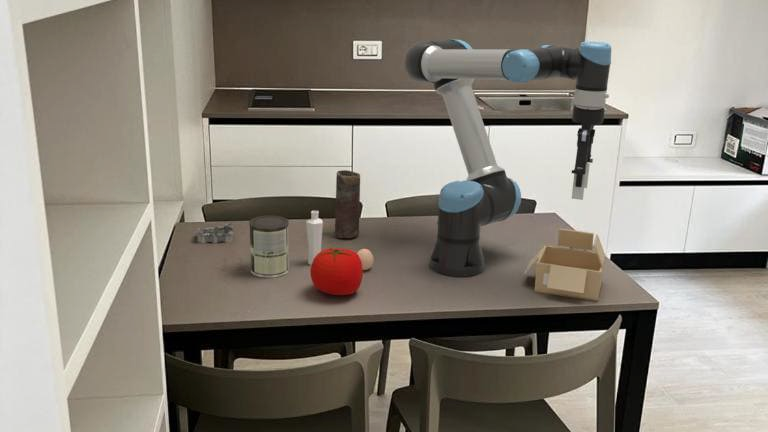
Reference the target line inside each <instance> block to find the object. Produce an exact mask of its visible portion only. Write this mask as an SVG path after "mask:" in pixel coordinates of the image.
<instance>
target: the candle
mask: <svg viewBox="0 0 768 432" xmlns="http://www.w3.org/2000/svg"><path fill="white" fill-rule="evenodd" d="M335 183H336V184H335V185H336V186H335V188H336V190H335V191H336V192H335V214H334V215H335V217H334V218H335V219H334V221H335V222H334V229H335V230H334V237H336V238H338V239H341V238H342V239H352V238H355V237H357V236H358V235H359V234H360V212H361V211H360V208H361V207H360V206H361V205H360V204H361V202H360V201H361V200H360V199H361V174H360V173H358V172H355V171H351V170H348V169H345V170H344V169H343V170H338V171H337V172H336V182H335Z"/></svg>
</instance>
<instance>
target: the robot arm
mask: <svg viewBox="0 0 768 432" xmlns="http://www.w3.org/2000/svg"><path fill="white" fill-rule="evenodd" d="M611 64H612V46H611V45H610V44H609V43H608V42H604V41H589V40H588V41H582V42H581V43H580V45H579V48H575V47H574V48H573V47H566V46H561V45H557V44H554V45H553V44H551V45H550V44H549V45H548V44H545V45H542V46H540V48H528V49H527V48H525V49H523V48H521V49H518V48H516V49H515V48H514V49H510V48H509V49H501V48H500V49H499V48H498V49H496V48H493V49H492V48H491V49H487V48H486V49H485V48H484V49H482V48H481V49H476V48H475V49H474V48H473V47H472V46H471V45H470V44H468V42H466V41H464V40H462V39H454V38H447V39H441V40H428V41H427V40H424V41H419V42H416V43H415V44H413V45H411V46H410V47H409V48H407V51H406V53H405V54H404V58H403V68H404V70H405V73H406V75H407V76H408V77H409V79H411V80H412V81H414V82H415V83H420V84H432V85H433V89H434V90H435V93H436V94H438V95H440V96H442V98H443V101H444V104H445V107H446V110H447V114H448V116H449V120H450V123H451V126H452V128H453V132H454V135H455V137H456V141H457V144H458V147H459V150H460V153H461V156H462V159H463V163H464V166H465V168H466V171H467V175H468V176H467V177H466V180H462V181H460V180H456V181H451V182H448V183H447V184H444V185H443V186H442V187H441V190H440V191H439V198H438V201H437V204H438V211H437V234H436V240H435V244H434V245H433V249H432V251H431V253H430V256H429V265H428V266H429V268H430V270H432V271H435V272H436V273H439V274H442V275H445V276H451V277H471V276H476V275H478V274H480V273H482V272H483V271H484V269H485V259H484V255H483V250H482V246H481V244H480V236H481V227H483V226H487V225H491V224H494V223H497V222H503V221H505V220H507V219H509V218H511V217H513V216H514V215H515V214H516V213H517V212H518V211H519V207H520V206H521V204H522V203H521V202H522V192H521V189H520V187H519V184H518V182H516V181H514V180H513V179H512V178H510V177H508V176H507V173H506V171H505V169H504V168H503V167H501V166H499V165H498V163H497V160H496V157H495V154H494V150H493V148H492V145H491V143H490V142H491V141H490V139H489V136H488V133H487V130H486V127H485V124H484V121H483V118H482V115H481V112H480V109H479V106H478V103H477V99H476V96H475V93H474V91H473V86H472V85H473V83H474V81H475V80H485V81H487V80H488V81H489V80H491V81H492V80H493V81H495V80H496V81H510V82H512V83H528V82H531V81H537V80H547V79H548V80H549V79H555V78H561V79H569V80H570V79H571V80H575V88H574V96H573V97H574V99H573V104H574V105H575V106H573V108H572V118H571V121H572V122H573V123H576V124H580V125H581V126H580V127H579V128H578V130H577V134H576V135H577V140H576V147H577V148H576V157H575V163H574V164H575V165H574V169H572V170H571V174H573V180H572V181H573V183H572V189H571V190H572V191H571V199H572V200H573V199H574V200H582V201H583V200H584V193H585V189H587V188H588V181H589V173H590V165H591V164H592V163H594V161H593V160H594V158H591V157H592V146H593V143H594V138H595V135H596V129H594V127H595V126H597V125H602V124H603V122H604V120H605V119H604V118H605V108H604V107H605V106H606V100H607V99H608V98H609V97H610V95H609V94H608V93H607V91H608V83H609V78H610V77H609V75H610V69H611Z"/></svg>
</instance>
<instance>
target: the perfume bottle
mask: <svg viewBox="0 0 768 432" xmlns="http://www.w3.org/2000/svg"><path fill="white" fill-rule="evenodd" d="M310 213H311V215H310V216H311V218H310V219H308V220H306V222H305V224H306V235H307V237H306V238H307V247H308V248H307V249H308V261H307V264H308V265H310V266H311V265H312V262H313V260H314V258H315V257H316V255H317V254H318V253H320V252H321V251H322V236H323V228H324V227H323V226H324V221H323V220H322V219H321V218H319V210H312V211H310Z"/></svg>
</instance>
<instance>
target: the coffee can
mask: <svg viewBox="0 0 768 432" xmlns="http://www.w3.org/2000/svg"><path fill="white" fill-rule="evenodd" d="M248 225H249V240H250V241H249V243H250V245H249V246H250V272H251V274H252V275H253V276H255V277H258V278H265V279H268V278H269V279H270V278H279V277H281V276H284V275H287V274H288V273H289V270H290V268H289V220H288V218H286V217H285V216H284V217H283V216H280V215H273V214H272V215H270V214H269V215H260V216H256V217H252V218H251V219H250V220H249V221H248Z"/></svg>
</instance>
